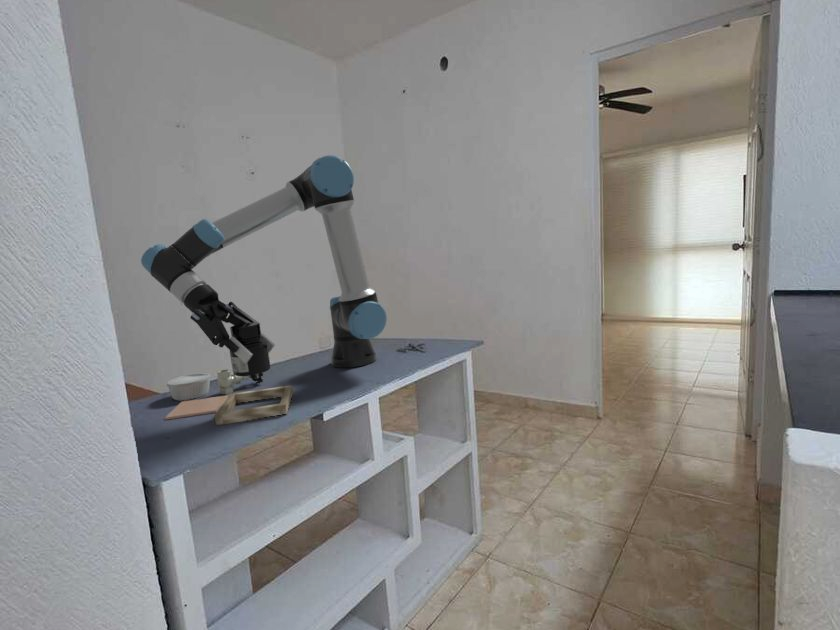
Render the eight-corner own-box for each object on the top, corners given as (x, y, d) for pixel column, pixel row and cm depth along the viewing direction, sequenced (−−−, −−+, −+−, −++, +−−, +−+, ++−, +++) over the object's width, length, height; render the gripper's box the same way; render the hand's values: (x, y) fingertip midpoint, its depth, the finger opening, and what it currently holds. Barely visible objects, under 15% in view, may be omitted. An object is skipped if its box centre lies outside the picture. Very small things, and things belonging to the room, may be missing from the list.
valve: (224, 397, 123) (264, 385, 131) (220, 374, 122) (261, 363, 130) (215, 393, 127) (255, 381, 136) (212, 371, 126) (252, 361, 135)
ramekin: (216, 387, 133) (213, 370, 132) (207, 398, 122) (204, 380, 122) (177, 392, 131) (174, 376, 130) (163, 405, 120) (160, 386, 119)
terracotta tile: (227, 397, 122) (227, 395, 122) (216, 412, 110) (216, 410, 110) (181, 403, 120) (181, 401, 119) (165, 419, 108) (165, 417, 108)
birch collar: (293, 393, 119) (291, 385, 119) (287, 414, 104) (285, 404, 104) (231, 402, 117) (230, 393, 116) (216, 425, 101) (214, 415, 101)
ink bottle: (230, 372, 111) (222, 326, 109) (265, 364, 115) (258, 320, 113) (237, 380, 102) (229, 330, 101) (275, 371, 107) (268, 323, 105)
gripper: (217, 299, 120) (277, 353, 119) (153, 312, 100) (224, 377, 98) (231, 278, 118) (291, 333, 117) (168, 287, 97) (240, 354, 96)
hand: (260, 353), depth 107 cm, fingers closed on ink bottle, 9 cm apart
